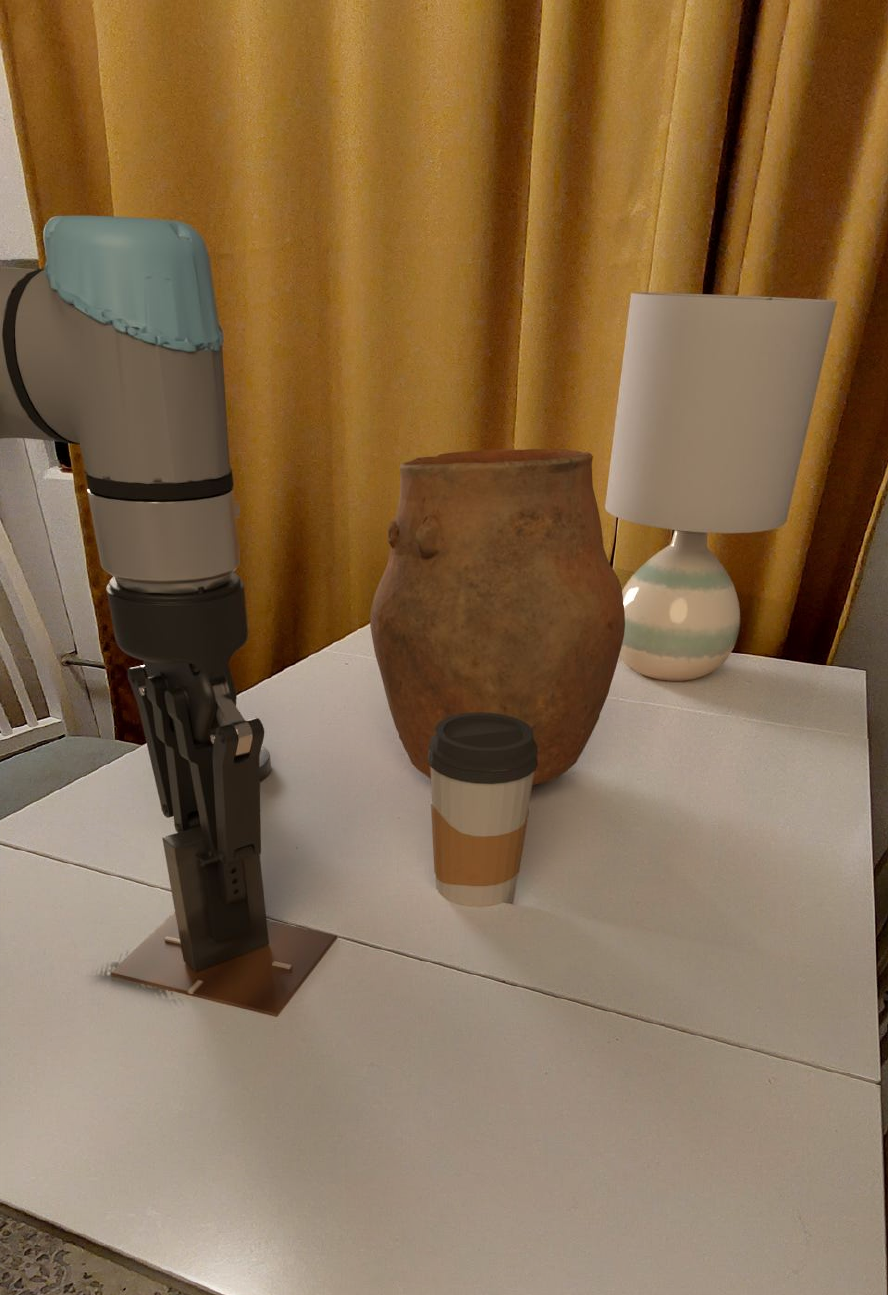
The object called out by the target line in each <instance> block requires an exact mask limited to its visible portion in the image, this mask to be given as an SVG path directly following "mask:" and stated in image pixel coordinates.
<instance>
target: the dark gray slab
mask: <svg viewBox="0 0 888 1295" xmlns="http://www.w3.org/2000/svg"><path fill="white" fill-rule="evenodd" d="M162 844H163V845H162V846H163V850H164V856H165V862H166V868H167V872H168V873H167V874H168V879H169V884H170V891H171V896H172V902H173V907H174V912H175V914H176V920H177V925H178V931H179V937H180V943H181V948H182V954H183V960H184V962H185V963H186V964H187V965H188V966H189V967H190V968H191V969H192V970H193V971H194V972H195V973H197V972H199V971H202V970H204V969H207V968H209V967H212V966H215V965H217V964H220V963H222V962H225V961H227V960H230V959H232V958H235V957H238V956H240V955H243V954H245V953H248V952H250V951H253V950H255V949H258V948H260V947H263V946H266V945H268V944H269V939H268V929H267V920H268V919H267V913H266V912H267V911H266V902H265V891H264V881H263V872H262V863H261V854H260V855H257V856H254V857H251V858H248V859H245V860H243V862H244V871H245V879H246V888H247V897H248V905H249V914H250V923H251V930H249V931H247V932H244V933H242V934H239V935H236V936H234V937H231V938H228V939H226V940H223V941H220V942H218V943H217V942H216V941H215V940H213V939H212V936H211V929H210V922H209V916H208V909H207V902H206V895H205V889H204V882H203V875H202V868H201V866H200V865H199V863H198V861H197V859H196V856H195V855H196V854H199V853H202V852H205V851H206V850H205V845H204V839H203V834H202V828H201V826H198V827H195V828H192V829H189V830H185V831H182V832H179V833H177V832H176V833H173V834H169V835H166V836H163V837H162Z"/></svg>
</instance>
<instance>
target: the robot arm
mask: <svg viewBox="0 0 888 1295" xmlns="http://www.w3.org/2000/svg"><path fill="white" fill-rule="evenodd" d="M42 236H43V237H42V238H43V244H44V252H45V260H46V261H45V264H44V265H43V267H42V268H38V269H37V268H25V267H24V268H23V267H14V266H13V267H12V266H0V440H2V439H27V440H39V441H40V440H41V441H51V442H59V443H65V444H71V445H79V447H80V452H81V457H82V462H83V467H84V473H85V480H86V484H87V490H86V491H87V496H88V502H89V508H90V514H91V519H92V524H93V530H94V531H93V532H94V537H95V542H96V547H97V552H98V553H97V554H98V558H99V564H100V567H101V568H102V569H103V570H104V571H105V572H106V573H107V574H109V575H110V576H112V577H111V579H110V580H109V581H108V584H107V585H106V588H105V590H106V595H107V601H108V606H109V612H110V617H111V623H112V629H113V633H114V640H115V642H116V644H117V646H118V648H119V649H120V650H121V651H122V652H123V653H125V655H127V656H129V657H132V658H134V659H136V660H140V661H143V665H138V666H134V667H129V668H127V671H126V673H127V680H128V682H129V684H130V687H131V690H132V692H133V695H134V699H135V701H136V704H137V708H138V711H139V712H138V713H139V715H140V721H141V724H142V730H143V733H144V738H145V742H146V746H147V751H148V755H149V758H150V763H151V769H152V772H153V777H154V781H155V786H156V789H157V794H158V800H159V803H160V808H161V812H162V814H163V816H164V817H165V818H166V819H170V818H173V822H174V824H173V825H174V829H175V831H176V833H179V832H182V831H185V830H189V829H192V828H195V827H198V826H201V828H202V834H203V839H204V845H205V850H206V851H205V852H202V853H199V854H196V855H195V856H196V859H197V861H198V863H199V865H200V866H201V868H202V875H203V882H204V889H205V895H206V902H207V909H208V916H209V922H210V929H211V936H212V939H213V940H215V941H216V942H217V943H218V942H220V941H223V940H226V939H228V938H231V937H234V936H236V935H239V934H242V933H244V932H247V931H249V930H251V923H250V914H249V905H248V897H247V888H246V879H245V871H244V862H243V860H245V859H248V858H251V857H254V856H257V855H260V856H261V853H262V829H261V828H262V827H261V826H262V822H261V820H262V818H261V782H260V762H259V755H260V751H261V747H262V746H263V742H264V739H265V727H264V725H263V722H262V720H261V719H260V718H258V717H254V718H250V719H245V718H244V716H243V715H242V713H241V712H240V711H239V709H238V708H237V698H238V697H237V695H238V694H237V689H236V685H235V683H234V679H233V675H232V672H231V668H230V664H229V663H230V660H231V659H232V657H233V656H234V654H235V653H236V652H237V651H240V650H241V649H242V648H244V646H245V645H246V644H247V641H248V640H249V622H248V611H247V601H246V591H245V583H244V581H243V580H242V578H240V576H239V575H238V574H237V573H236V572H235V571H236V570H237V569H238V568H239V567H240V565H241V562H242V561H241V550H240V539H239V529H238V518H240V516H241V507H240V505H239V503H238V502H237V501H236V500H235V492H234V491H235V490H234V485H235V484H234V477H233V469H232V468H231V462H230V461H231V460H230V448H229V432H228V418H227V417H228V416H227V402H226V401H227V400H226V386H225V370H224V368H225V366H224V354H223V353H224V351H223V346H224V344H223V343H224V342H225V341H224V331H223V328H222V326H221V324H220V320H219V315H218V314H219V313H218V307H217V302H216V301H217V300H216V294H215V288H214V281H213V274H212V273H213V272H212V267H211V266H212V265H211V260H210V254H209V250H208V247H207V245H206V241H205V240H204V238H203V237H202V234H200V233H199V232H198V231H197V229H195V228H194V226H193V227H192V225H190V224H188V223H186V222H183V221H180V220H172V219H164V218H163V219H161V218H148V217H134V216H133V217H131V216H110V215H109V216H108V215H56V216H55V215H54V216H52V217H51V218H49V219H48V221H47V222H45V225H44V228H43V235H42Z"/></svg>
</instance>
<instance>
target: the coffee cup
mask: <svg viewBox="0 0 888 1295" xmlns="http://www.w3.org/2000/svg"><path fill="white" fill-rule="evenodd" d="M537 753H538V748H537V743H536V742H535V741H534V735H533V730H532V728H531V727H530V726H529V725H528V724H526V723H525V722H523V721H522V720H519V719H516V718H514V717H511V716H507V715H503V714H496V713H484V712H474V713H463V714H458V715H453V716H450V717H447V718H445V719H443V720H442V721H440V722H439V723H438V724H437V726H436V728H435V735H434V736H433V737H432V738H431V740H430V744H429V753H428V760H427V761H428V763H429V764H430V769H431V779H430V786H431V788H430V789H431V804H430V810H431V811H430V812H431V831H432V832H431V833H432V852H433V853H432V855H433V869H434V870H433V871H434V875H435V890H437V892H438V893H439V895H440V896H442V898H444V899H445V900H447V901H449V902H450V903H453V904H457V905H460V906H463V907H470V908H486V907H494V906H497V905H501V904H502V903H504V904H509V905H513V903H514V900H515V893H516V887H517V881H518V875H519V873H520V868H521V862H522V855H523V851H524V850H523V849H524V843H525V837H526V831H527V825H528V821H529V820H528V819H529V815H530V801H531V796H532V795H531V794H532V788H533V785H532V783H533V777H534V771H535V770H536V768H537V766H538V760H537Z"/></svg>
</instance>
